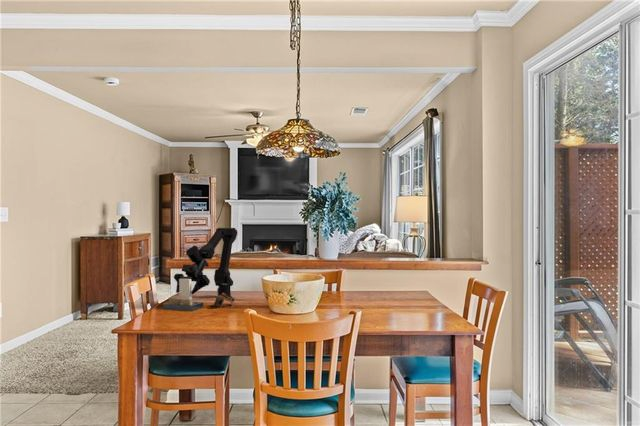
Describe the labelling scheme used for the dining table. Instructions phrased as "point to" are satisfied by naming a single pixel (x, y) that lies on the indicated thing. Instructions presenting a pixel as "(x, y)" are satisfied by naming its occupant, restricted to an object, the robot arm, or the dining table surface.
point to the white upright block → (185, 288)
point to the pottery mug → (220, 300)
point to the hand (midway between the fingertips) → (184, 293)
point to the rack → (183, 306)
